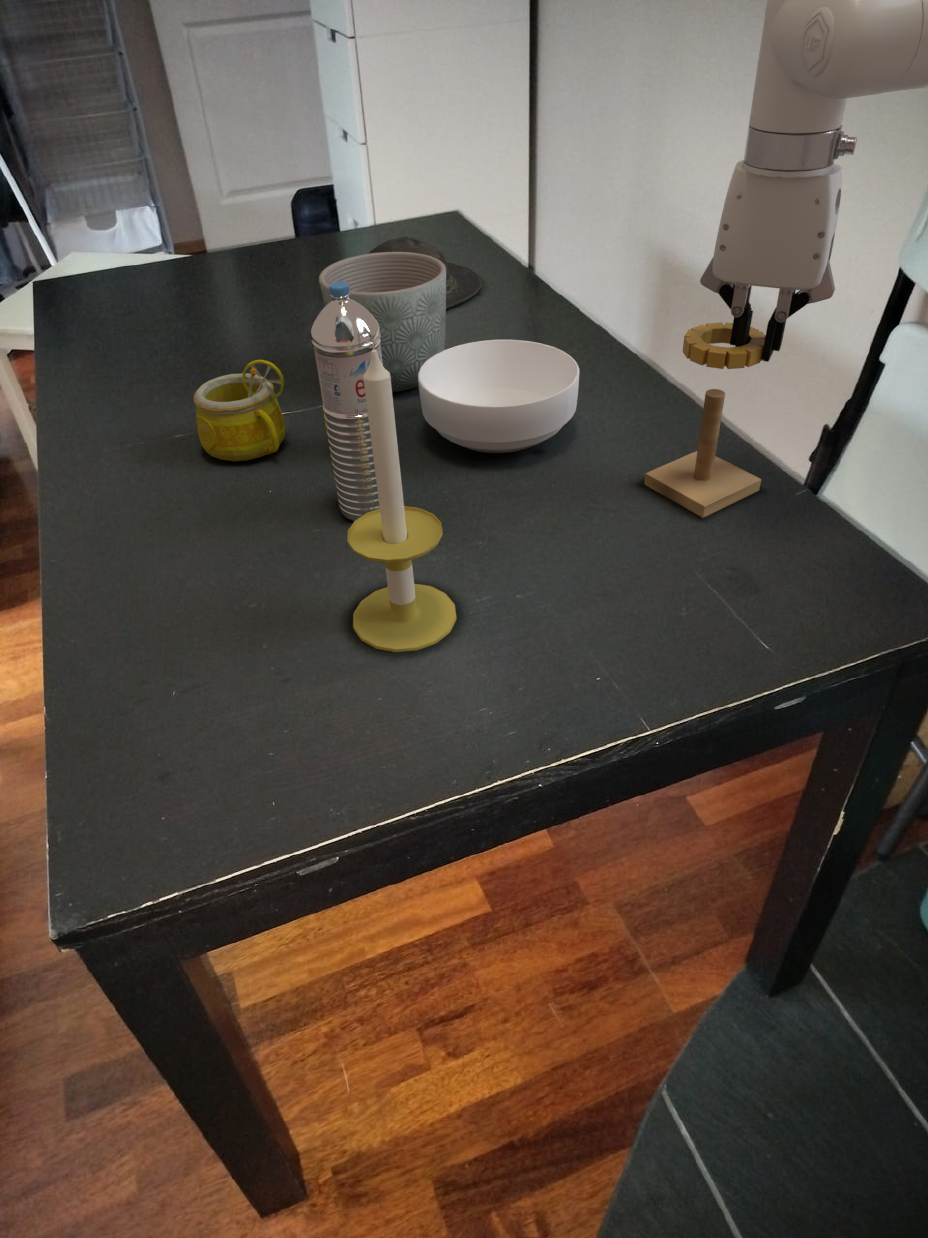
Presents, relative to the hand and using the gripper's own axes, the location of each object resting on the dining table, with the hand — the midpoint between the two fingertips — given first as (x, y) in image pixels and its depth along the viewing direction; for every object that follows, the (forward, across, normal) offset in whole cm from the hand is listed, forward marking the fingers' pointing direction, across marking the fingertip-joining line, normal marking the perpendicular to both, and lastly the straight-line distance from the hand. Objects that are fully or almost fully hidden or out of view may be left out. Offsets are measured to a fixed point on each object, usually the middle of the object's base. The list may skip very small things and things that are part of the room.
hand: (753, 352), depth 86 cm
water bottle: (+16, +36, +18) cm, 44 cm away
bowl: (+17, +30, -4) cm, 34 cm away
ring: (0, +3, 0) cm, 3 cm away
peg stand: (+16, +3, 0) cm, 17 cm away
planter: (+17, +51, -14) cm, 55 cm away
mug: (+17, +58, +11) cm, 61 cm away
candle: (+16, +24, +33) cm, 44 cm away
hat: (+17, +67, -47) cm, 84 cm away
